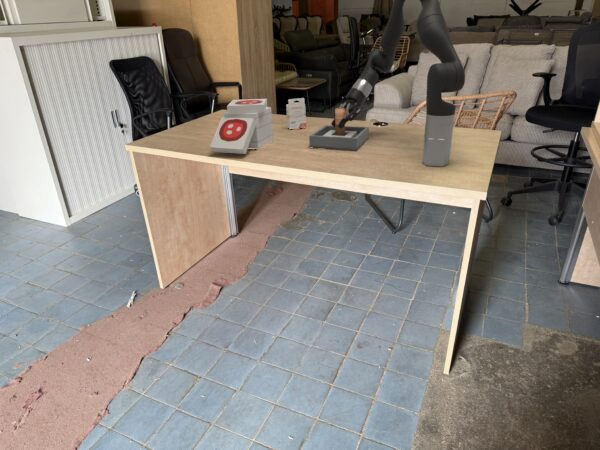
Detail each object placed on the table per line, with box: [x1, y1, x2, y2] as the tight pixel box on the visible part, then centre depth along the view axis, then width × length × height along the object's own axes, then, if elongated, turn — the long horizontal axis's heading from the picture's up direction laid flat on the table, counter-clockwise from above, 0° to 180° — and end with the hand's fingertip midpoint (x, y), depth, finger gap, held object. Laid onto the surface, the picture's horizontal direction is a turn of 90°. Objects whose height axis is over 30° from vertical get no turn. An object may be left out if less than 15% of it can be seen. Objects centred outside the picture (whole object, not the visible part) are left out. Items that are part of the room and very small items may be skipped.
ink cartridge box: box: [285, 97, 307, 130], centre depth 204 cm, size 9×5×15 cm, turn 105°
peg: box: [334, 107, 346, 136], centre depth 176 cm, size 4×4×12 cm
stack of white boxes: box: [209, 98, 274, 155], centre depth 175 cm, size 19×30×18 cm, turn 158°
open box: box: [308, 124, 370, 152], centre depth 178 cm, size 20×20×5 cm
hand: (336, 126), depth 175 cm, fingers closed on peg, 4 cm apart
